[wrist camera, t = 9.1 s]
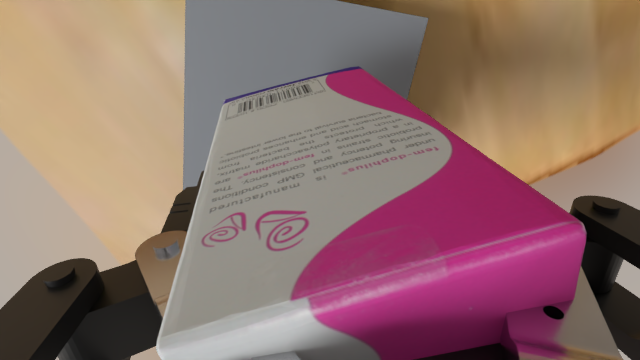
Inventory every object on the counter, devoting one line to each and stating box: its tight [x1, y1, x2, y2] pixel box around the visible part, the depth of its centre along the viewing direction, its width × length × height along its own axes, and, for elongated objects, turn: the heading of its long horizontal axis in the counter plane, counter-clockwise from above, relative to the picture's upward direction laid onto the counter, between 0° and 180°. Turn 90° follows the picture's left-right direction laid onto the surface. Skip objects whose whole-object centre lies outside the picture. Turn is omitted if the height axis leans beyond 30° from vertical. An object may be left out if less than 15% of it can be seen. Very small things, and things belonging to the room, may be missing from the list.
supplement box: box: [156, 66, 587, 360], centre depth 11 cm, size 6×6×12 cm
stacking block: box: [183, 0, 428, 190], centre depth 23 cm, size 12×12×6 cm
